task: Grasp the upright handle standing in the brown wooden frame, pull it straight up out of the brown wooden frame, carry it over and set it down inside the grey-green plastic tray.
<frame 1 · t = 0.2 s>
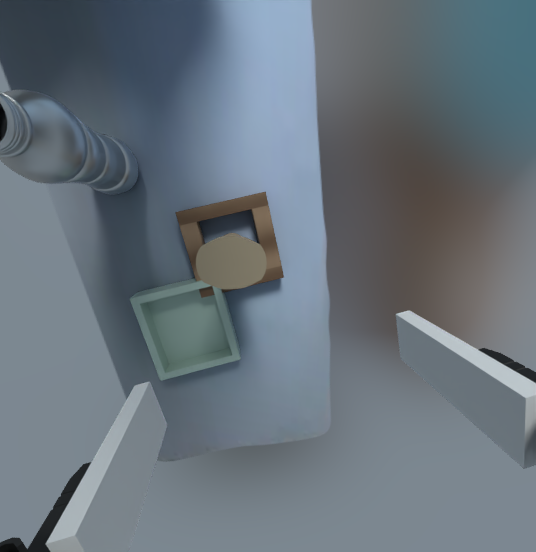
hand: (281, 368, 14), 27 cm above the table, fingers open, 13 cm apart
handle: (232, 244, 39), resting in brown wooden frame
brown wooden frame: (232, 244, 39), on the table
plastic bottle: (118, 169, 35), on the table
tray: (191, 322, 41), on the table
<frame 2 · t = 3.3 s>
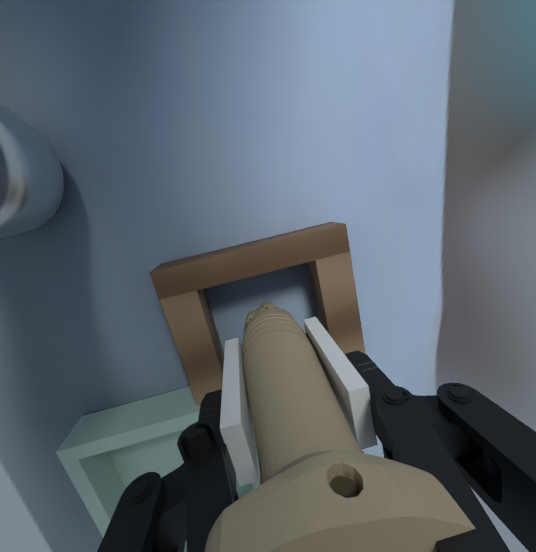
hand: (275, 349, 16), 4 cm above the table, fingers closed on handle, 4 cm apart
handle: (267, 320, 20), resting in brown wooden frame, touching gripper
brown wooden frame: (267, 321, 20), on the table
plastic bottle: (23, 176, 16), on the table
tray: (188, 459, 22), on the table
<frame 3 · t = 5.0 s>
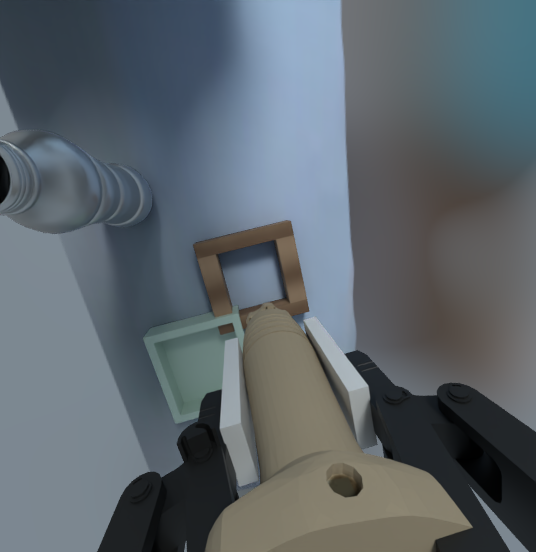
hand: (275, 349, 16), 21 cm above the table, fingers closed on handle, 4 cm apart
handle: (267, 320, 20), point 16 cm above the table, touching gripper
brown wooden frame: (253, 275, 36), on the table
plastic bottle: (129, 197, 32), on the table
tray: (208, 358, 38), on the table
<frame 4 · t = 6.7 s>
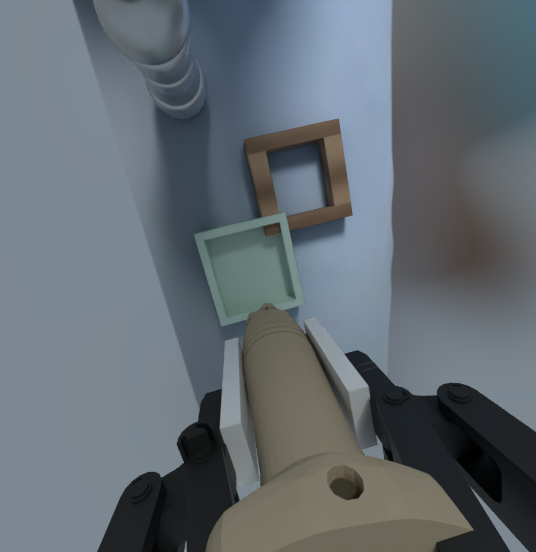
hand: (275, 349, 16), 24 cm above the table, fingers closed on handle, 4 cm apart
handle: (267, 320, 20), point 20 cm above the table, touching gripper
brown wooden frame: (297, 181, 37), on the table
plastic bottle: (181, 94, 33), on the table
tray: (250, 266, 39), on the table
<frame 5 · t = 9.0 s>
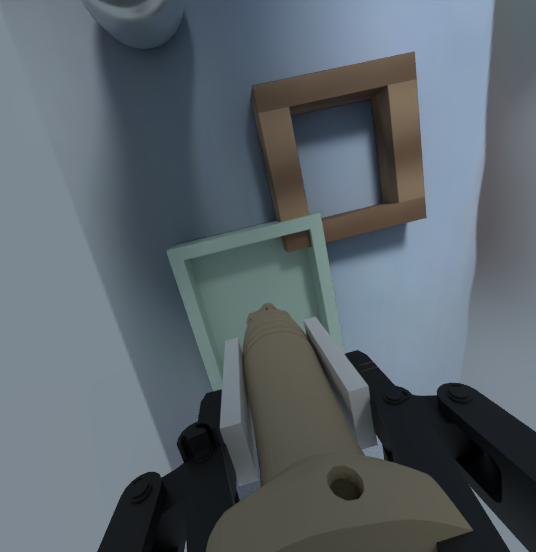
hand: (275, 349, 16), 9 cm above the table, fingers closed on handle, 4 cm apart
handle: (267, 320, 20), point 5 cm above the table, touching gripper
brown wooden frame: (335, 163, 23), on the table
plastic bottle: (143, 8, 19), on the table
tray: (260, 297, 25), on the table
when the fingers open (6 cm above the table, at t = 10.1 s): handle drops 1 cm, resting on tray.
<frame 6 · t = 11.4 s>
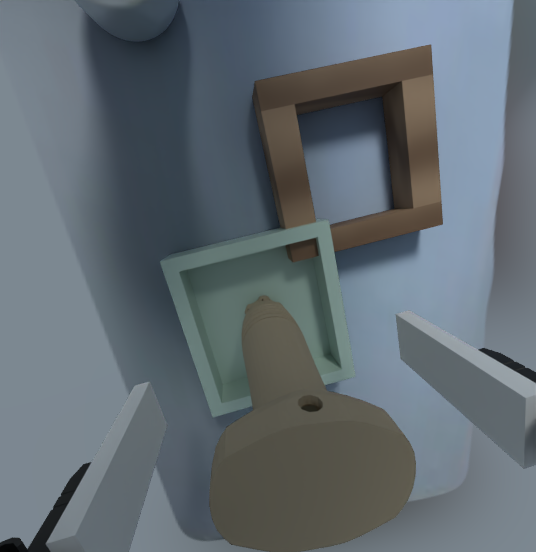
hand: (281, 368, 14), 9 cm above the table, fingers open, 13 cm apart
handle: (263, 311, 23), resting on tray
brown wooden frame: (344, 165, 21), on the table
tray: (262, 310, 23), on the table
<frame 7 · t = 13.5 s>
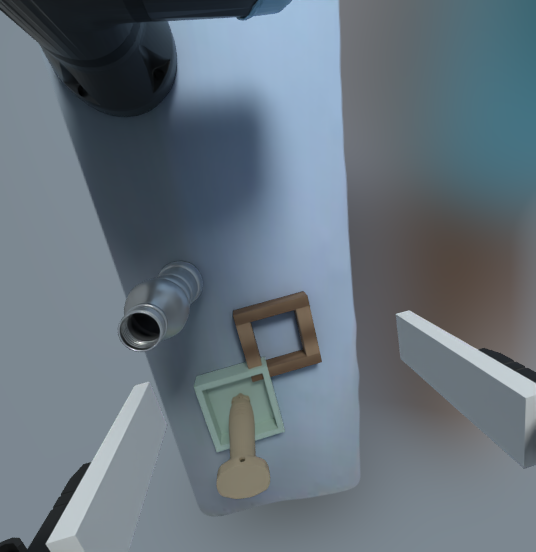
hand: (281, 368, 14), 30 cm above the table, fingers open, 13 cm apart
handle: (240, 399, 47), resting on tray
brown wooden frame: (276, 333, 46), on the table
plastic bottle: (183, 279, 42), on the table
tray: (240, 398, 48), on the table
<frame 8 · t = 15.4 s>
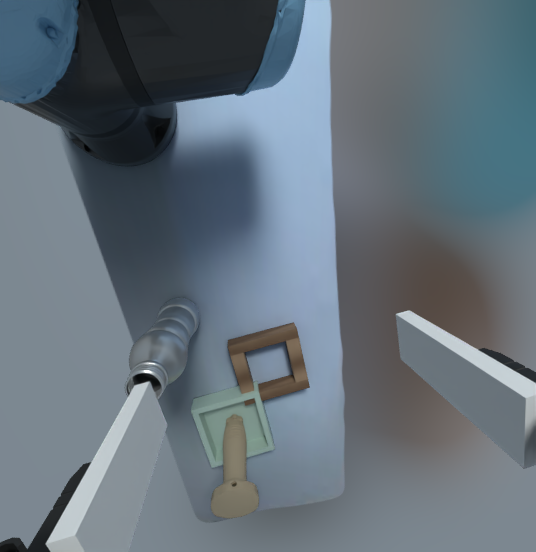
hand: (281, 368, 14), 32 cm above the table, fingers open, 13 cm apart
handle: (234, 419, 51), resting on tray
brown wooden frame: (268, 360, 49), on the table
plastic bottle: (182, 312, 46), on the table
tray: (234, 418, 52), on the table
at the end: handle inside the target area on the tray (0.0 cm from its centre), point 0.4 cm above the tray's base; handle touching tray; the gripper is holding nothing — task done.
